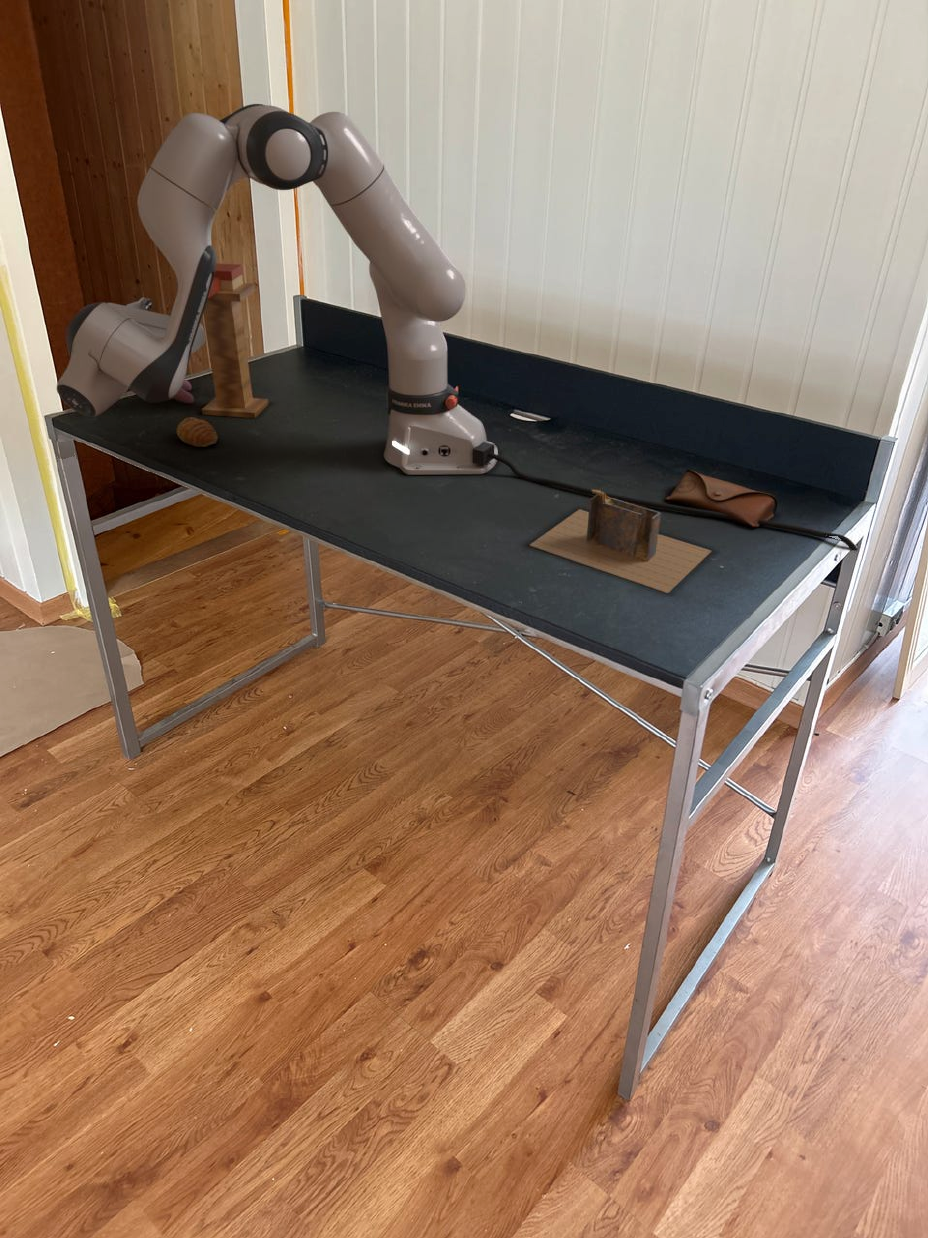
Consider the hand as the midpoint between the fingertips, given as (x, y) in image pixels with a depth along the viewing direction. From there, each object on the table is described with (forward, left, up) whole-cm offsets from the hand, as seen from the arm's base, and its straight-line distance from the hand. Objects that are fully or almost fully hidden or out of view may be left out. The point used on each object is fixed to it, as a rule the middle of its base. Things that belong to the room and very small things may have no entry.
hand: (170, 306), depth 166 cm
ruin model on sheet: (-84, +24, -29) cm, 92 cm away
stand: (+1, -24, -29) cm, 37 cm away
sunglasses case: (-101, +6, -29) cm, 105 cm away
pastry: (+2, -7, -29) cm, 30 cm away
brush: (+1, -20, -3) cm, 20 cm away
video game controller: (+16, -29, -29) cm, 44 cm away
